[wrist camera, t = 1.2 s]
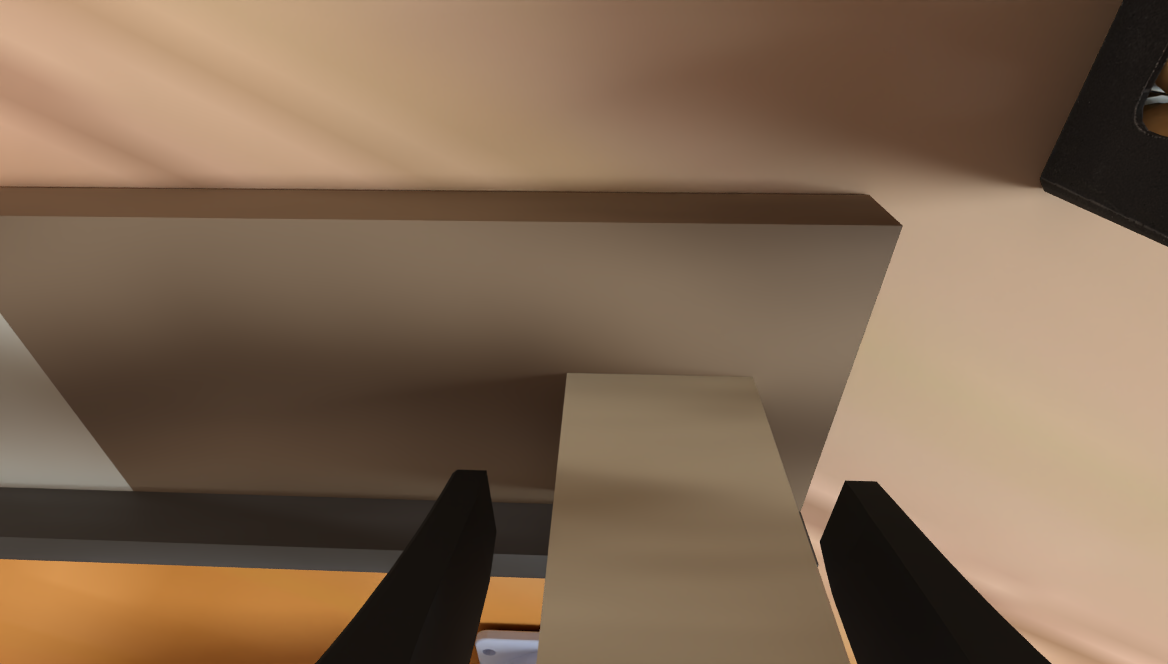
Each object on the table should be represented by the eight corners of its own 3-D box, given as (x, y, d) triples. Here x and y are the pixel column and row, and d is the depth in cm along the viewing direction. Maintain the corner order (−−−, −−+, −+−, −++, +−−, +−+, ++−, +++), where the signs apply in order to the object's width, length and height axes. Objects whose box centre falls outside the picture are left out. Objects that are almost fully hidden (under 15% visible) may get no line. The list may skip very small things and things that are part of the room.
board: (778, 489, 16) (808, 587, 13) (-64, 465, 17) (-180, 552, 14) (869, 195, 11) (946, 265, 8) (-353, 183, 12) (-612, 244, 9)
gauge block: (725, 496, 14) (789, 795, 9) (570, 492, 14) (548, 784, 9) (753, 376, 12) (859, 689, 7) (566, 372, 12) (534, 676, 7)
